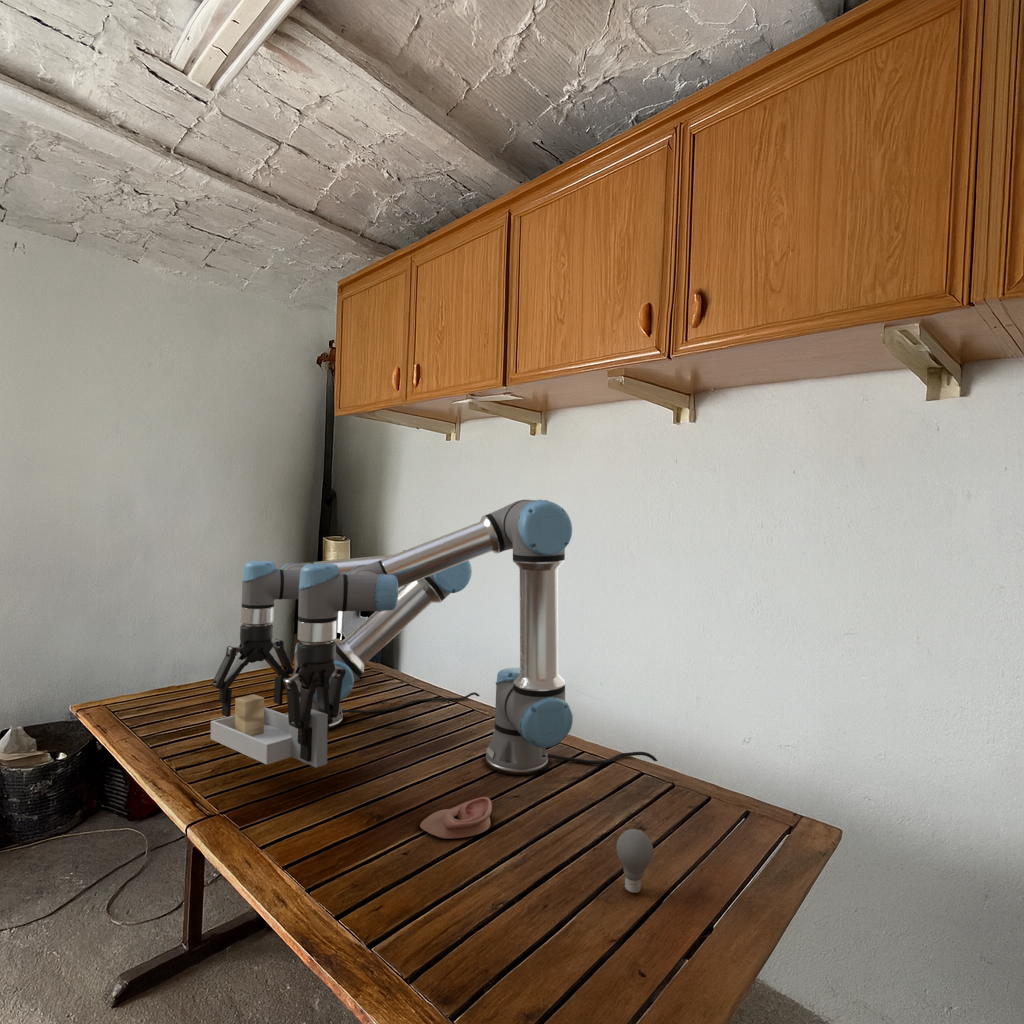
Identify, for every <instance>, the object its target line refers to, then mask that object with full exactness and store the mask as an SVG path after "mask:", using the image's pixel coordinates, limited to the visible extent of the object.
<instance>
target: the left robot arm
mask: <svg viewBox="0 0 1024 1024" xmlns="http://www.w3.org/2000/svg"><path fill="white" fill-rule="evenodd" d="M405 550H406V549H403V550H402V551H405ZM392 555H393V554H386V555H375V556H365V557H353V558H344V559H343V558H342V559H333V560H321V561H313V562H301V563H300V562H296V561H293V562H288V563H285V564H284V565H282V567H281V568H277V563H276V562H275V561H271V560H248V561H247V562H246V563H245V564H244V565H243V572H242V579H241V580H242V581H241V582H242V583H241V607H240V608H241V609H240V623H241V625H240V626H239V642H240V643H239V645H238V646H232V645H228V646H227V647H226V650H225V656H224V657H223V660H222V662H221V664H220V666H219V667H218V669H217V671H216V674H215V675H214V677H213V680H212V682H211V686H212V687H213V688H215V689H217V690H218V689H219V693H218V694H219V695H218V701H219V702H220V703H221V715H222V716H224V717H225V718H226V717H230V716H232V713H231V712H232V692H233V691H232V688H230V687H231V686H232V684H233V683H234V682H235V680H236V679H237V677H238V676H239V675H240V674H241V672H242V671H243V670H244V668H245V667H247V666H248V665H249V663H251V664H253V663H256V662H264V661H265V662H266V663H267V664H268V666H270V667H271V669H272V670H273V671H274V673H276V675H277V676H275V677H274V688H273V689H274V690H273V703H274V704H277V705H279V706H280V705H283V700H284V699H283V698H284V697H283V696H284V691H285V690H286V688H285V686H284V683H283V680H284V679H285V678H288V679H289V678H290V675H294V674H295V671H296V669H297V666H298V663H297V644H298V642H297V643H296V644H295V648H294V649H295V650H294V668H293V666H292V664H291V661H290V659H289V657H288V655H287V652H286V650H285V642H284V641H283V640H282V639H279V638H275V639H274V640H272V639H273V637H274V636H273V635H274V625H273V624H272V623H274V620H275V619H274V618H275V617H274V615H275V600H299V581H300V570H301V568H302V567H303V566H304V565H307V564H316V563H323V564H334V565H337V566H338V568H339V572H340V574H347V575H348V574H349V572H350V571H351V570H352V569H353V568H355V567H357V566H360V565H368V564H371V563H374V562H377V561H379V560H381V559H384V558H387V557H389V556H392ZM472 568H473V567H472V564H471V560H468V561H466V562H463V563H461V564H458V565H455V566H453V567H450V568H448V569H445V570H443V571H440V572H438V573H435V574H433V575H430V576H428V577H425V578H422V579H420V580H417V581H415V582H412V583H410V584H407V585H405V586H402V587H401V588H399V589H398V602H397V606H396V608H395V609H394V610H387V611H381V612H378V611H373V613H372V614H371V615H370V616H369V617H367V618H366V619H365V620H364V621H363V622H362V623H361V624H359V625H358V626H357V627H356V628H355V629H354V630H353V631H352V632H350V634H348V635H347V636H346V637H345V638H344V639H340V640H333V641H335V643H336V657H335V659H334V663H335V666H336V667H339V668H342V669H345V670H346V673H345V676H344V678H343V681H342V688H341V696H340V703H339V711H338V716H337V717H336V718H332V720H333V722H332V723H331V724H329V730H332V729H335V728H337V727H339V726H340V725H342V723H343V722H344V714H343V713H347V714H349V713H351V714H352V713H355V714H357V713H358V714H376V713H383V712H389V711H394V710H398V709H400V708H403V707H405V706H408V705H411V704H414V703H421V702H430V701H463V700H466V699H468V698H469V697H471V696H476V697H481V696H480V694H479V693H478V692H470V693H468V694H466V695H465V696H462V697H429V698H419V699H414V700H410V701H407V702H404V703H402V704H399V705H396V706H393V707H388V708H381V709H371V710H364V709H363V710H361V709H342V706H341V702H342V701H344V700H345V699H346V698H347V697H348V696H349V695H350V693H351V692H352V690H353V687H354V683H355V682H357V681H358V680H357V679H358V678H359V677H360V676H361V677H362V675H363V674H364V672H365V665H366V664H367V663H368V662H369V661H370V660H371V659H372V658H373V657H375V656H376V654H378V653H379V652H380V651H381V650H382V649H384V648H385V646H387V645H388V644H389V643H390V642H391V641H392V640H393V639H394V638H395V637H396V636H398V634H400V633H401V632H402V631H403V630H404V629H405V628H406V627H408V626H409V625H410V624H411V622H413V621H414V620H415V619H416V618H417V617H419V615H421V614H422V613H423V612H424V611H425V610H426V609H427V608H428V607H430V605H432V604H441V603H442V602H443V601H444V600H445V599H446V598H447V597H448V596H449V595H450V594H456V593H459V592H461V591H463V590H464V589H465V588H466V587H467V586H468V585H469V583H470V581H471V579H472V573H473V571H472V570H473V569H472ZM272 649H274V651H275V654H276V656H277V658H278V660H279V662H280V664H281V665H280V664H279V662H278V661H277V660H276V659H275V657H274V656H273V655H272V653H271V651H272ZM237 656H238V657H237ZM236 657H237V659H236ZM234 661H235V663H234ZM331 676H332V675H331ZM361 677H360V678H361ZM330 680H331V677H330V679H329V684H330ZM298 683H299V686H298V690H299V700H300V698H301V691H300V688H301V682H300V681H298ZM311 709H313V710H316V711H318V703H317V690H316V691H315V694H314V695H313V701H312V708H311ZM286 715H288V712H287V713H286Z"/></svg>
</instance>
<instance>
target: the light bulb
mask: <svg viewBox="0 0 1024 1024" xmlns="http://www.w3.org/2000/svg"><path fill="white" fill-rule="evenodd" d="M615 849H616V854H617V857H618V859H619V861H620V863H621V865H622V867H623V873H624V874H623V875H624V876H625V878H624V888H625V890H627V891H628V892H630V893H634V894H635V893H639V892H640V891H641V889H642V887H641V886H642V879H643V877H644V875H645V871H646V868H647V867H648V866H649V864H650V863H651V861H652V859H653V855H654V847H653V843H652V841H651V838H649V836H648V835H647V834H646V833H645V832H643V831H642V830H641V829H636V828H629V829H627V830H625V831H623V832H622V833H621V834H620V835H619V837H618V839H617V841H616V847H615Z"/></svg>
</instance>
